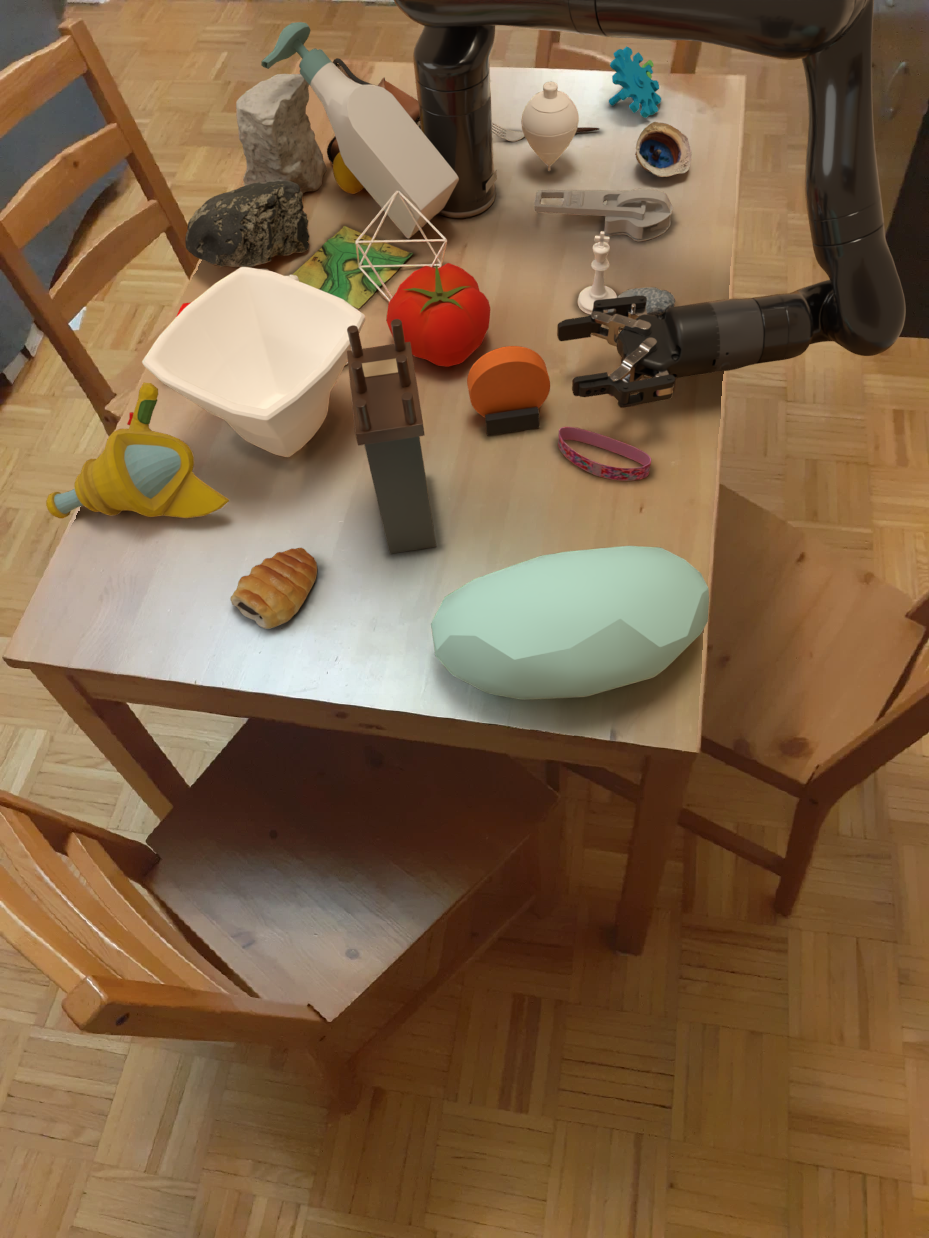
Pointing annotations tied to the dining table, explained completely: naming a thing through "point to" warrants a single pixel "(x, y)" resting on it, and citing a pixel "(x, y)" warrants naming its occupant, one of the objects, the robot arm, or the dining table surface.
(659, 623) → the decorative stone
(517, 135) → the fork
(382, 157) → the soap bottle
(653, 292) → the fossil
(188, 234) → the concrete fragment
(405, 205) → the geometric polyhedron
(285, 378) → the bowl
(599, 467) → the headband
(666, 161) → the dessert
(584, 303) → the chess piece
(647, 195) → the zipper pull
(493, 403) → the disc
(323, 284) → the terrain map
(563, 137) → the spinning top
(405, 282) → the tomato
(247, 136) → the decorative stone
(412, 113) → the sunglasses case
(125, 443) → the toy
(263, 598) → the pastry
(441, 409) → the dining table surface
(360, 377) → the rack
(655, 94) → the gear
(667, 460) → the dining table surface
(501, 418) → the black blocks
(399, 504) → the stand block
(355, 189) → the doorknob
